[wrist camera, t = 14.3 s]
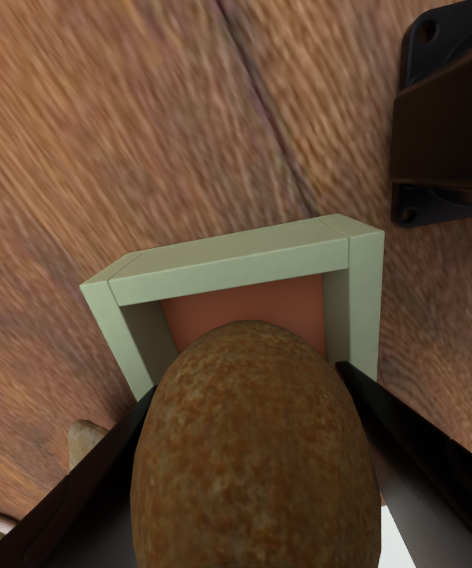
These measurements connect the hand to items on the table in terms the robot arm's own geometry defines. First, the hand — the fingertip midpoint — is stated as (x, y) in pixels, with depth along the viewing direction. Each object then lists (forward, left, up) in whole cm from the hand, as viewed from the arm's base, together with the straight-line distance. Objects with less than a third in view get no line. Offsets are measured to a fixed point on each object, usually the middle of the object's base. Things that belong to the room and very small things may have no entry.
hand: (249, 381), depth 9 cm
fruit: (0, 0, -2) cm, 2 cm away
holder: (0, 0, -4) cm, 4 cm away
